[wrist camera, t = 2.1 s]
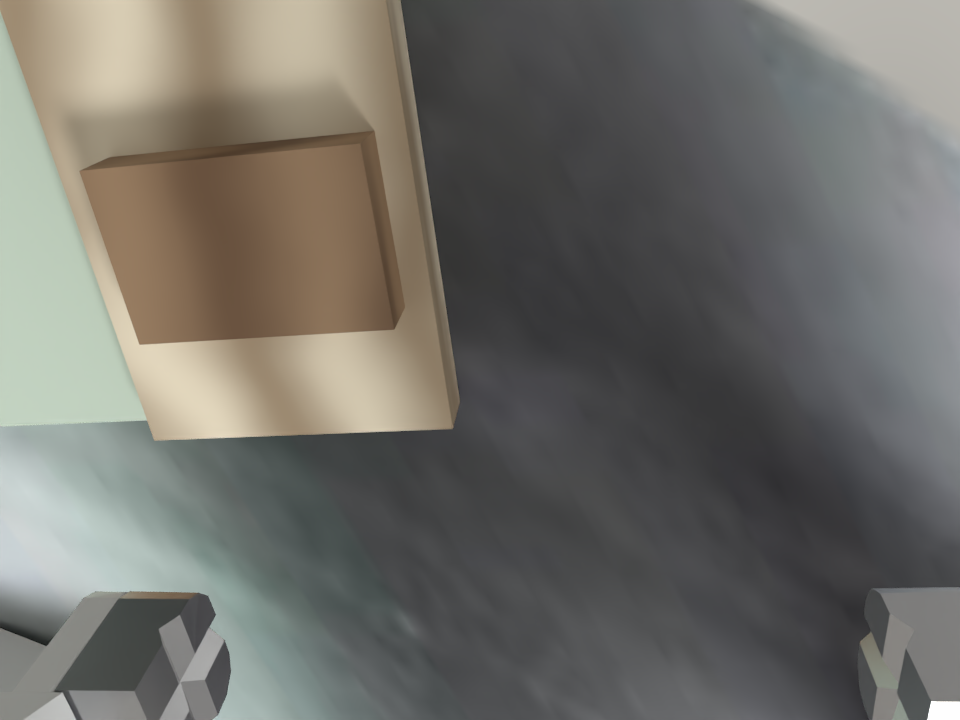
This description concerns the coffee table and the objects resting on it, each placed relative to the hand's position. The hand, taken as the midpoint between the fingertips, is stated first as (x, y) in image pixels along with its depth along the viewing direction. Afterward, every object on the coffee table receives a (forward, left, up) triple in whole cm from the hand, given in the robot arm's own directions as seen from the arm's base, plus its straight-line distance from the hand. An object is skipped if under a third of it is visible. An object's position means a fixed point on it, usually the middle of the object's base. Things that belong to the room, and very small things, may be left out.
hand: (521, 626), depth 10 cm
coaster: (+10, 0, -17) cm, 20 cm away
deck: (+10, 0, -19) cm, 22 cm away
